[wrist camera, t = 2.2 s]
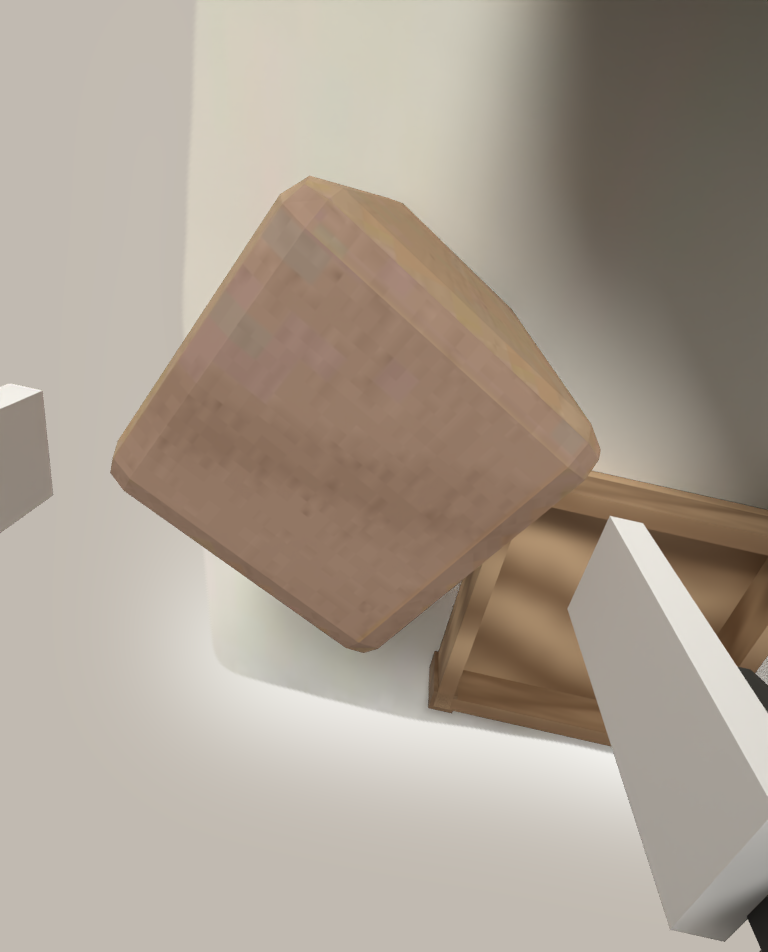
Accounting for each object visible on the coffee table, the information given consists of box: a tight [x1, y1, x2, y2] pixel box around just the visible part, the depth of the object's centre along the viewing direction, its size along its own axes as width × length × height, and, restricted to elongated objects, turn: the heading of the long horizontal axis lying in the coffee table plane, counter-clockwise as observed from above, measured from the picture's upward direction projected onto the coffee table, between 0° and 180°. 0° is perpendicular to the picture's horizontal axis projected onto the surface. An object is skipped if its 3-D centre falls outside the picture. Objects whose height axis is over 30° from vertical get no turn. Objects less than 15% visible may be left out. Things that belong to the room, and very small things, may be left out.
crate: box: [428, 471, 768, 746], centre depth 37 cm, size 20×20×4 cm
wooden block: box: [110, 176, 600, 653], centre depth 22 cm, size 10×10×20 cm
